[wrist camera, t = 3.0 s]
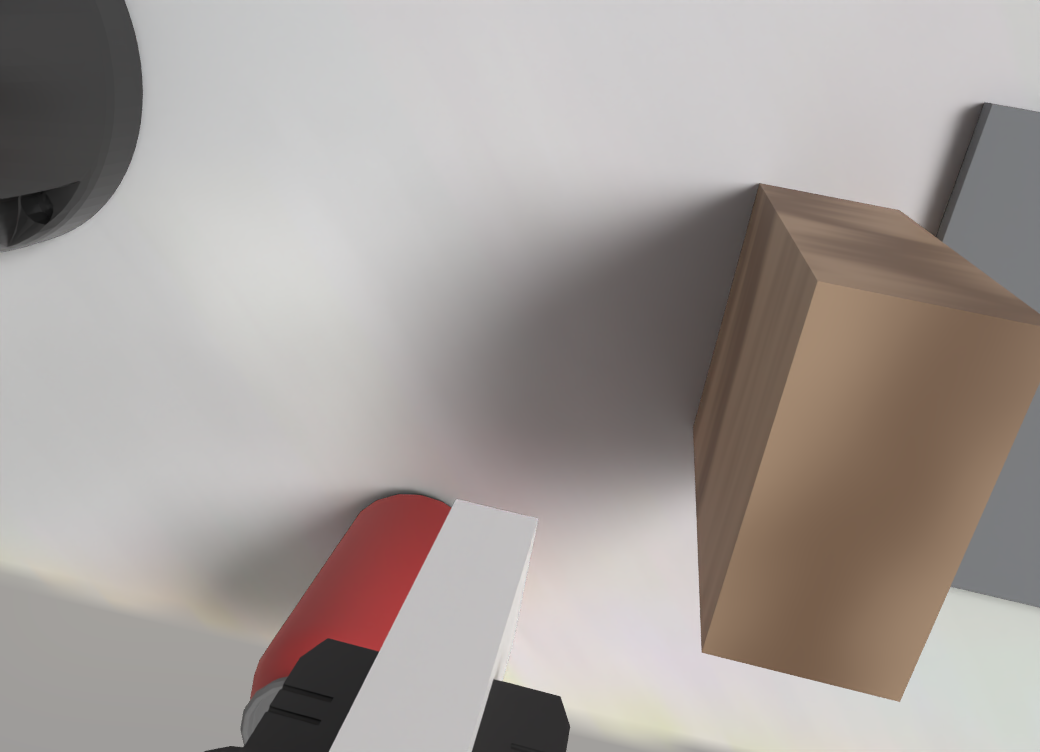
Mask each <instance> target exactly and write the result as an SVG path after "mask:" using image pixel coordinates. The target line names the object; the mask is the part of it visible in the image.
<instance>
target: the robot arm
mask: <svg viewBox="0 0 1040 752" xmlns="http://www.w3.org/2000/svg"><path fill="white" fill-rule="evenodd" d="M142 97H143V89H142V72H141V62H140V56H139V50H138V45H137V40H136V36H135V32H134V28H133V25H132V21H131V18H130V15H129V12H128V9H127V6H126V4H125V1H124V0H0V252H4V251H10V250H14V249H18V248H22V247H25V246H29V245H32V244H35V243H39V242H42V241H45V240H49V239H52V238H55V237H57V236H60V235H63V234H65V233H67V232H69V231H71V230H73V229H75V228H77V227H78V226H80V225H82V224H83V223H84V222H86V221H87V220H88V219H90V218H91V217H92V216H93V215H94V214H96V213H97V212H98V211H99V210H100V209H101V208H102V207H103V206H104V205H105V204H106V202H107V201H108V200H109V199H110V197H111V196H112V195H113V194H114V192H115V191H116V189H117V187H118V186H119V184H120V183H121V181H122V179H123V177H124V175H125V173H126V171H127V169H128V167H129V164H130V162H131V159H132V156H133V153H134V150H135V147H136V143H137V139H138V135H139V129H140V123H141V114H142ZM537 524H538V518H534V517H530V516H526V515H522V514H517V513H513V512H509V511H505V510H501V509H497V508H492V507H488V506H484V505H480V504H476V503H472V502H467V501H463V500H459V499H456V500H455V502H454V504H453V506H452V508H451V510H450V512H449V514H448V516H447V518H446V520H445V522H444V524H443V526H442V528H441V530H440V532H439V534H438V536H437V538H436V540H435V542H434V544H433V546H432V548H431V550H430V552H429V554H428V556H427V558H426V560H425V562H424V564H423V566H422V568H421V570H420V572H419V574H418V576H417V578H416V580H415V582H414V584H413V586H412V588H411V590H410V592H409V594H408V596H407V598H406V600H405V601H404V603H403V605H402V607H401V609H400V611H399V613H398V615H397V617H396V619H395V621H394V623H393V625H392V627H391V629H390V631H389V633H388V635H387V637H386V639H385V641H384V643H383V645H382V647H381V649H380V651H376V650H372V649H368V648H364V647H360V646H356V645H353V644H349V643H345V642H341V641H337V640H334V639H330V638H327V639H325V640H324V641H323V642H321V643H320V644H318V645H317V646H316V647H314V648H313V649H311V650H310V651H308V652H307V653H306V654H304V655H303V656H301V657H300V658H299V660H298V661H297V663H296V665H295V666H294V668H293V669H292V671H291V672H290V674H289V676H288V677H287V679H286V680H285V682H284V684H283V687H282V689H280V690H279V692H278V693H277V695H276V696H275V698H274V699H273V701H272V703H271V704H270V706H269V710H268V712H265V714H264V715H263V717H262V718H261V720H260V722H259V723H258V725H257V726H256V728H255V730H254V731H253V733H252V734H251V736H250V738H249V739H248V741H247V742H246V744H245V745H244V747H234V746H229V747H224V748H218V749H214V750H209V751H205V752H566V748H567V742H568V735H569V730H570V725H569V722H568V719H567V716H566V712H565V709H564V706H563V703H562V700H561V697H560V696H557V695H553V694H549V693H545V692H541V691H538V690H534V689H530V688H526V687H522V686H518V685H515V684H511V683H507V682H503V677H504V674H505V670H506V667H507V663H508V660H509V656H510V653H511V649H512V646H513V642H514V637H515V632H516V627H517V622H518V617H519V613H520V608H521V603H522V598H523V593H524V588H525V583H526V578H527V573H528V568H529V563H530V558H531V553H532V548H533V543H534V539H535V534H536V529H537Z"/></svg>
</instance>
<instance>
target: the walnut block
mask: <svg viewBox="0 0 1040 752" xmlns="http://www.w3.org/2000/svg"><path fill="white" fill-rule="evenodd" d="M1039 383H1040V314H1039V313H1038V312H1037V311H1035V310H1034V309H1032V308H1031V307H1030V306H1028V305H1027V304H1026V303H1024V302H1023V301H1022V300H1020V299H1019V298H1018V297H1016V296H1015V295H1013V294H1012V293H1011V292H1009V291H1008V290H1007V289H1005V288H1004V287H1003V286H1001V285H1000V284H999V283H997V282H996V281H995V280H993V279H992V278H990V277H989V276H988V275H986V274H985V273H984V272H982V271H981V270H980V269H978V268H977V267H976V266H974V265H973V264H971V263H970V262H969V261H967V260H966V259H965V258H963V257H962V256H961V255H959V254H958V253H957V252H955V251H954V250H953V249H951V248H950V247H948V246H947V245H946V244H944V243H943V242H942V241H940V240H939V239H938V238H936V237H935V236H934V235H932V234H931V233H929V232H928V231H927V230H925V229H924V228H923V227H921V226H920V225H919V224H917V223H916V222H915V221H913V220H912V219H911V218H909V217H908V216H906V215H905V214H904V213H902V212H901V211H900V210H895V209H890V208H885V207H880V206H875V205H869V204H864V203H859V202H854V201H849V200H844V199H838V198H833V197H828V196H823V195H818V194H812V193H807V192H802V191H797V190H792V189H787V188H781V187H776V186H771V185H766V184H761V183H759V187H758V191H757V194H756V198H755V202H754V205H753V209H752V213H751V216H750V220H749V224H748V227H747V231H746V235H745V238H744V242H743V246H742V249H741V253H740V257H739V260H738V264H737V268H736V271H735V275H734V279H733V282H732V286H731V290H730V294H729V297H728V301H727V305H726V308H725V312H724V316H723V319H722V323H721V327H720V330H719V334H718V338H717V341H716V345H715V349H714V352H713V356H712V360H711V363H710V367H709V371H708V374H707V378H706V382H705V385H704V389H703V393H702V397H701V400H700V404H699V408H698V411H697V415H696V419H695V422H694V426H693V439H694V465H695V491H696V516H697V542H698V568H699V594H700V620H701V646H702V653H706V654H710V655H714V656H718V657H722V658H726V659H730V660H734V661H738V662H742V663H746V664H750V665H754V666H758V667H762V668H766V669H770V670H774V671H778V672H782V673H786V674H790V675H794V676H798V677H802V678H806V679H810V680H814V681H818V682H822V683H826V684H830V685H834V686H838V687H842V688H846V689H850V690H854V691H859V692H863V693H867V694H871V695H875V696H879V697H883V698H887V699H891V700H895V701H899V702H900V700H901V698H902V696H903V693H904V691H905V689H906V687H907V684H908V682H909V680H910V677H911V675H912V673H913V671H914V668H915V666H916V664H917V661H918V659H919V657H920V655H921V652H922V650H923V648H924V646H925V643H926V641H927V639H928V636H929V634H930V632H931V630H932V627H933V625H934V623H935V620H936V618H937V616H938V614H939V611H940V609H941V607H942V604H943V602H944V600H945V598H946V595H947V593H948V591H949V589H950V586H951V584H952V582H953V579H954V577H955V575H956V573H957V570H958V568H959V566H960V563H961V561H962V559H963V557H964V554H965V552H966V550H967V548H968V545H969V543H970V541H971V538H972V536H973V534H974V532H975V529H976V527H977V525H978V522H979V520H980V518H981V516H982V513H983V511H984V509H985V506H986V504H987V502H988V500H989V497H990V495H991V493H992V491H993V488H994V486H995V484H996V481H997V479H998V477H999V475H1000V472H1001V470H1002V468H1003V465H1004V463H1005V461H1006V459H1007V456H1008V454H1009V452H1010V449H1011V447H1012V445H1013V443H1014V440H1015V438H1016V436H1017V434H1018V431H1019V429H1020V427H1021V424H1022V422H1023V420H1024V418H1025V415H1026V413H1027V411H1028V408H1029V406H1030V404H1031V402H1032V399H1033V397H1034V395H1035V392H1036V390H1037V388H1038V386H1039Z"/></svg>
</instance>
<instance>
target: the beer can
mask: <svg viewBox="0 0 1040 752" xmlns="http://www.w3.org/2000/svg"><path fill="white" fill-rule="evenodd" d="M450 510H451V507H449V506H448V505H446V504H445V503H443V502H441V501H438V500H435V499H432V498H429V497H426V496H423V495H410V494H398V495H394V496H390V497H387V498H383V499H379V500H376V501H375V502H374V503H372V504H371V505H369V506H368V507H366V508H365V509H364V510H362V511H361V512H360V513H359V515H358V516H357V518H356V519H355V521H354V522H353V523H352V525H351V526H350V528H349V529H348V531H347V532H346V534H345V535H344V537H343V538H342V540H341V541H340V542H339V544H338V545H337V547H336V548H335V550H334V551H333V553H332V554H331V556H330V557H329V559H328V560H327V562H326V563H325V564H324V566H323V567H322V569H321V570H320V572H319V573H318V575H317V576H316V578H315V579H314V581H313V582H312V584H311V585H310V586H309V588H308V589H307V591H306V592H305V594H304V595H303V597H302V598H301V600H300V601H299V603H298V604H297V605H296V607H295V608H294V610H293V611H292V613H291V614H290V616H289V617H288V619H287V620H286V622H285V623H284V625H283V626H282V627H281V629H280V630H279V632H278V633H277V635H276V636H275V638H274V639H273V641H272V642H271V644H270V645H269V647H268V648H267V650H266V651H265V653H264V654H263V656H262V657H261V659H260V660H259V663H258V666H257V669H256V672H255V675H254V680H253V686H252V692H251V697H250V702H249V703H248V705H247V706H246V707H245V709H244V712H243V718H242V723H241V734H242V738H243V743H244V745H245V744H246V742H247V741H248V739H249V738H250V736H251V734H252V733H253V731H254V730H255V728H256V726H257V725H258V723H259V722H260V720H261V718H262V717H263V715H264V714H265V712H268V710H269V706H270V704H271V703H272V701H273V699H274V698H275V696H276V695H277V693H278V692H279V690H280V689H282V687H283V684H284V682H285V680H286V679H287V677H288V676H289V674H290V672H291V671H292V669H293V668H294V666H295V665H296V663H297V661H298V660H299V658H300V657H301V656H303V655H304V654H306V653H307V652H308V651H310V650H311V649H313V648H314V647H316V646H317V645H318V644H320V643H321V642H323V641H324V640H325V639H327V638H330V639H334V640H337V641H341V642H345V643H349V644H353V645H356V646H360V647H364V648H368V649H372V650H376V651H380V649H381V647H382V645H383V643H384V641H385V639H386V637H387V635H388V633H389V631H390V629H391V627H392V625H393V623H394V621H395V619H396V617H397V615H398V613H399V611H400V609H401V607H402V605H403V603H404V601H405V600H406V598H407V596H408V594H409V592H410V590H411V588H412V586H413V584H414V582H415V580H416V578H417V576H418V574H419V572H420V570H421V568H422V566H423V564H424V562H425V560H426V558H427V556H428V554H429V552H430V550H431V548H432V546H433V544H434V542H435V540H436V538H437V536H438V534H439V532H440V530H441V528H442V526H443V524H444V522H445V520H446V518H447V516H448V514H449V512H450Z"/></svg>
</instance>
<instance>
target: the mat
mask: <svg viewBox="0 0 1040 752" xmlns="http://www.w3.org/2000/svg"><path fill="white" fill-rule="evenodd" d="M936 238H938V239H939V240H940V241H942V242H943V243H944V244H946V245H947V246H948V247H950V248H951V249H953V250H954V251H955V252H957V253H958V254H959V255H961V256H962V257H963V258H965V259H966V260H967V261H969V262H970V263H971V264H973V265H974V266H976V267H977V268H978V269H980V270H981V271H982V272H984V273H985V274H986V275H988V276H989V277H990V278H992V279H993V280H995V281H996V282H997V283H999V284H1000V285H1001V286H1003V287H1004V288H1005V289H1007V290H1008V291H1009V292H1011V293H1012V294H1013V295H1015V296H1016V297H1018V298H1019V299H1020V300H1022V301H1023V302H1024V303H1026V304H1027V305H1028V306H1030V307H1031V308H1032V309H1034V310H1035V311H1037V312H1038V313H1039V314H1040V112H1036V111H1030V110H1025V109H1019V108H1013V107H1008V106H1002V105H997V104H991V103H984V105H983V108H982V111H981V114H980V117H979V119H978V122H977V125H976V128H975V130H974V133H973V136H972V139H971V141H970V144H969V147H968V150H967V153H966V155H965V158H964V161H963V164H962V166H961V169H960V172H959V175H958V178H957V180H956V183H955V186H954V189H953V191H952V194H951V197H950V200H949V203H948V205H947V208H946V211H945V214H944V216H943V219H942V222H941V225H940V227H939V230H938V233H937V236H936ZM950 587H955V588H959V589H963V590H968V591H972V592H976V593H980V594H985V595H989V596H993V597H997V598H1002V599H1006V600H1010V601H1015V602H1019V603H1023V604H1027V605H1032V606H1036V607H1040V383H1039V386H1038V388H1037V390H1036V392H1035V395H1034V397H1033V399H1032V402H1031V404H1030V406H1029V408H1028V411H1027V413H1026V415H1025V418H1024V420H1023V422H1022V424H1021V427H1020V429H1019V431H1018V434H1017V436H1016V438H1015V440H1014V443H1013V445H1012V447H1011V449H1010V452H1009V454H1008V456H1007V459H1006V461H1005V463H1004V465H1003V468H1002V470H1001V472H1000V475H999V477H998V479H997V481H996V484H995V486H994V488H993V491H992V493H991V495H990V497H989V500H988V502H987V504H986V506H985V509H984V511H983V513H982V516H981V518H980V520H979V522H978V525H977V527H976V529H975V532H974V534H973V536H972V538H971V541H970V543H969V545H968V548H967V550H966V552H965V554H964V557H963V559H962V561H961V563H960V566H959V568H958V570H957V573H956V575H955V577H954V579H953V582H952V584H951V586H950Z"/></svg>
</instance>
